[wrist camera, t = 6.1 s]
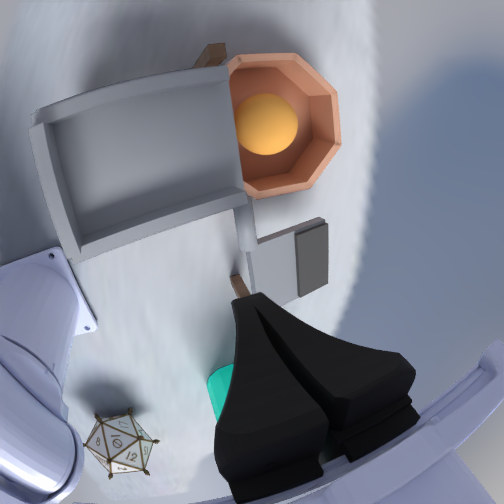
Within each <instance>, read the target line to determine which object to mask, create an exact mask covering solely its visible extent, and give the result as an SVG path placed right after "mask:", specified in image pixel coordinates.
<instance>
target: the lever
mask: <svg viewBox="0 0 504 504" xmlns="http://www.w3.org/2000/svg"><path fill="white" fill-rule="evenodd" d="M228 80H230V76H229V69H228V67H226V65H222V66H211V67H202V68H193V69H186V70H179V71H172V72H166V73H161V74H155V75H150V76H145V77H141V78H136V79H132V80H127V81H123V82H119V83H115V84H112V85H108V86H104V87H101V88H97V89H94V90H91V91H87V92H84V93H81V94H78V95H75V96H72V97H69V98H67V99H64V100H61V101H58V102H56V103H53V104H51V105H48V106H46V107H43V108H41V109H38V110H36V113H34V114H31V120H32V126H33V127H32V128H29V129H28V132H29V137H30V142H31V147H32V151H33V156H34V160H35V164H36V168H37V172H38V176H39V180H40V183H41V187H42V190H43V194H44V197H45V200H46V203H47V206H48V210H49V213H50V216H51V218H52V221H53V224H54V227H55V230H56V232H57V235H58V238H59V240H60V243H61V246H62V248H63V251H64V253H65V255H66V258H67V259H69V258H72V260H73V263H74V264H77V263H79V262H82V261H84V260H87V259H90V258H92V257H95V256H97V255H100V254H102V253H105V252H108V251H110V250H113V249H116V248H118V247H121V246H124V245H126V244H129V243H132V242H135V241H137V240H140V239H143V238H146V237H149V236H151V235H154V234H157V233H160V232H163V231H166V230H168V229H171V228H174V227H177V226H180V225H183V224H186V223H189V222H192V221H195V220H198V219H201V218H204V217H207V216H210V215H213V214H216V213H220V212H223V211H226V210H229V209H232V208H233V211H234V217H235V223H236V229H237V235H238V241H239V247H240V250H241V251H244V252H246V256H247V263H248V269H249V275H250V281H251V287H252V294H255V293H259V292H262V293H264V294H265V295H266V296H267V297H268V298H270V299H271V300H272V301H274V302H275V303H276V304H278V305H279V306H282V305H284V304H287V303H289V302H291V301H293V300H295V299H297V298H298V297H300V298H301V297H303V296H305V295H307V294H308V293H310V292H312V291H314V290H316V289H318V288H320V287H322V286H324V285H326V284H328V223H325V219H323V218H320V217H317V218H314V219H311V220H309V221H306V222H303V223H300V224H298V225H295V226H292V227H290V228H287V229H284V230H281V231H279V232H276V233H273V234H270V235H268V236H265V237H262V238H260V239H257V236H256V229H255V221H254V214H253V207H252V200H251V197H250V196H247V193H246V191H245V190H244V183H243V176H242V169H241V163H240V156H239V149H238V142H237V135H236V128H235V122H234V115H233V108H232V101H231V94H230V88H229V81H228Z"/></svg>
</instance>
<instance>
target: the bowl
mask: <svg viewBox="0 0 504 504" xmlns="http://www.w3.org/2000/svg"><path fill="white" fill-rule="evenodd" d="M225 65H226V67H228V69H229V76H230V80H228V81H229V88H230V94H231V101H232V108H233V115H235V112H236V110H237V108H238V107H239V105H240V104H241V103H242V102H243V101H244V100H246V99H247V98H249V97H251V96H253V95H256V94H261V93H269V94H274V95H277V96H280V97H282V98H283V99H285V100H286V101H287V102H288V103H290V105H291V106H292V107H293V109H294V110H295V113H296V115H297V119H298V129H297V133H296V136H295V138H294V140H293V141H292V143H291V144H290V145H289V146H288V147H287V148H286V149H284V150H282V151H280V152H278V153H275V154H271V155H261V154H256V153H253V152H251V151H249V150H248V149H246V148H245V147H244V146H243V145H242V144H241V143H240V142H239V141H238V139H237V142H238V149H239V156H240V163H241V169H242V176H243V183H244V190H245V191H246V193H247V194H249V195H250V196H252V197H253V198H255V199H256V200H259V199H263V198H268V197H272V196H277V195H282V194H286V193H291V192H296V191H301V190H306V189H310V188H311V187H312V186H313V184H314V183H315V181H316V180H317V179H318V177H319V176H320V175H321V173H322V172H323V170H324V169H325V168H326V166H327V165H328V163H329V162H330V161H331V159H332V158H333V156H334V155H335V154H336V152H337V151H338V149H339V148H340V147H341V131H340V118H339V106H338V96H337V91H336V90H335V89H334V88H333V87H332V86H331V85H330V84H329V83H328V82H327V81H326V80H325V79H324V78H323V77H322V76H321V75H320V74H319V73H318V72H317V71H316V70H315V69H313V68H312V67H311V66H310V65H309V64H308V63H307V62H306V61H305V60H304V59H303V58H301V57H300V56H299V55H298V54H297V53H258V54H242V55H236V56H235V57H233V58H232V59H231V60H230V61H228V62H227V63H226V64H225Z"/></svg>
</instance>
